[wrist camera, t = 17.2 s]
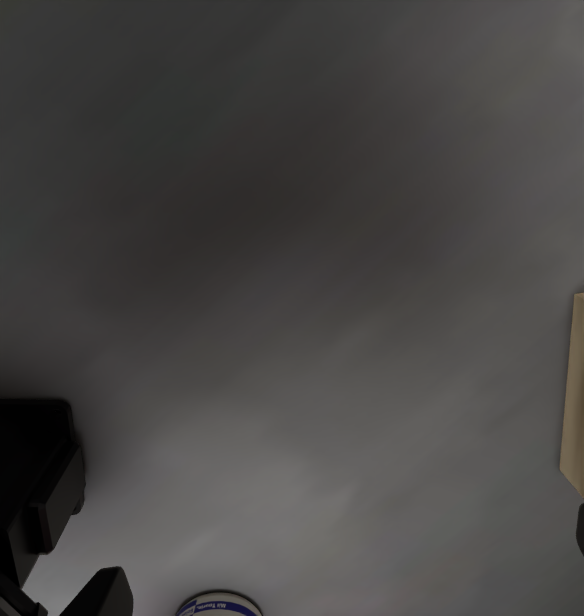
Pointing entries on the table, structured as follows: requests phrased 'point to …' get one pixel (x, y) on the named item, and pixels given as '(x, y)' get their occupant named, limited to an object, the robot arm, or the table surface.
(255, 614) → the energy drink
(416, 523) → the table surface
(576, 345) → the birch block
